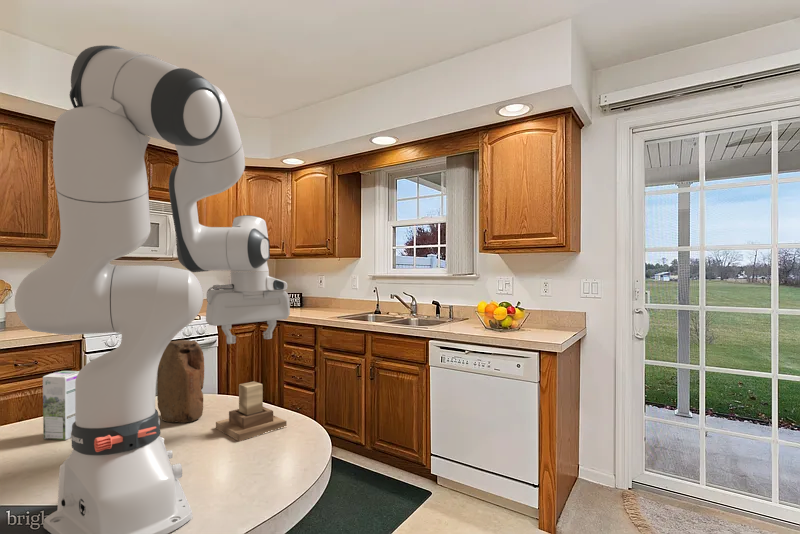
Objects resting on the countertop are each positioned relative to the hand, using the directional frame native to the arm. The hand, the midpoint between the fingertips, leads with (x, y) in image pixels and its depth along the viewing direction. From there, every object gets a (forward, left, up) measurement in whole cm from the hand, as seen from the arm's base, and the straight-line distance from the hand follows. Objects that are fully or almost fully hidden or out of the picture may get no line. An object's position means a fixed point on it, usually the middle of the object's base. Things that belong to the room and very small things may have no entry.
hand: (250, 341), depth 106 cm
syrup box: (+27, +32, -21) cm, 47 cm away
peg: (0, 0, -19) cm, 19 cm away
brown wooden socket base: (0, 0, -21) cm, 21 cm away
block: (+19, +9, -21) cm, 30 cm away
